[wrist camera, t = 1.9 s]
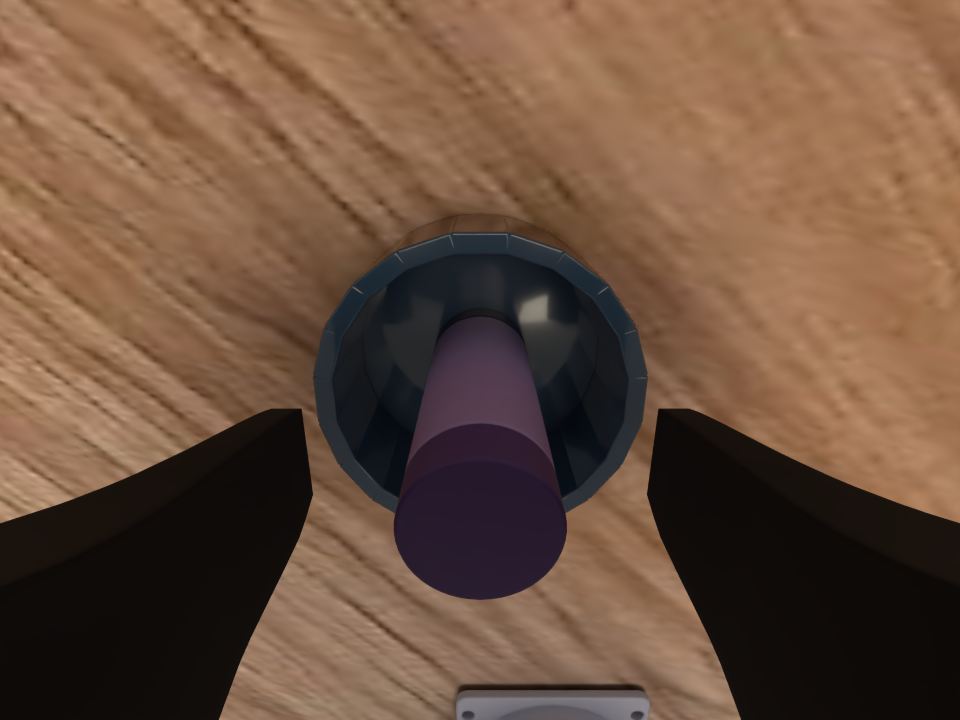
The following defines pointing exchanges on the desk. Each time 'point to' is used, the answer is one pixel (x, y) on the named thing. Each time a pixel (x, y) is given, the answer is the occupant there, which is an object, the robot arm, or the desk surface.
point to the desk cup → (466, 286)
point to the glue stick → (480, 468)
